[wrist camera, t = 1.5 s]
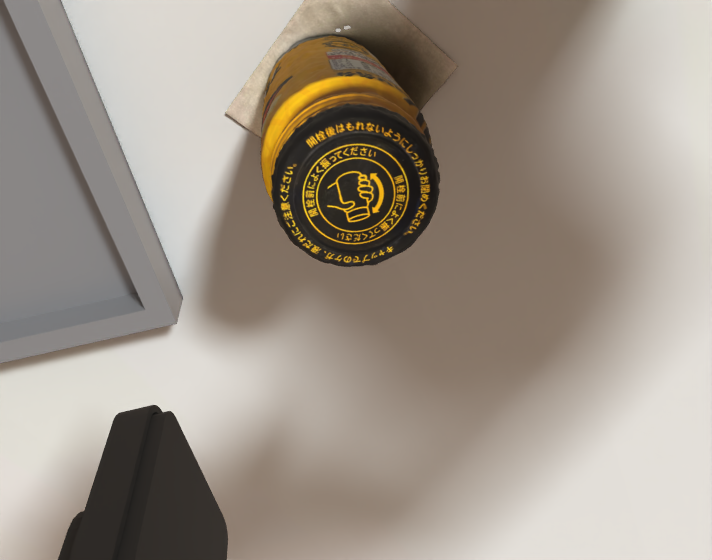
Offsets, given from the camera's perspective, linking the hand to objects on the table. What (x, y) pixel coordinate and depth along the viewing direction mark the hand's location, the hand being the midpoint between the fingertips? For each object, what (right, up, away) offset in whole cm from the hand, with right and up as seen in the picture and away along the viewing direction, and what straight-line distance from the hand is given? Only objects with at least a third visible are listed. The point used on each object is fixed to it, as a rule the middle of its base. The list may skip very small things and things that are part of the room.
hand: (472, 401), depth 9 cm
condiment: (-3, +11, +18) cm, 22 cm away
